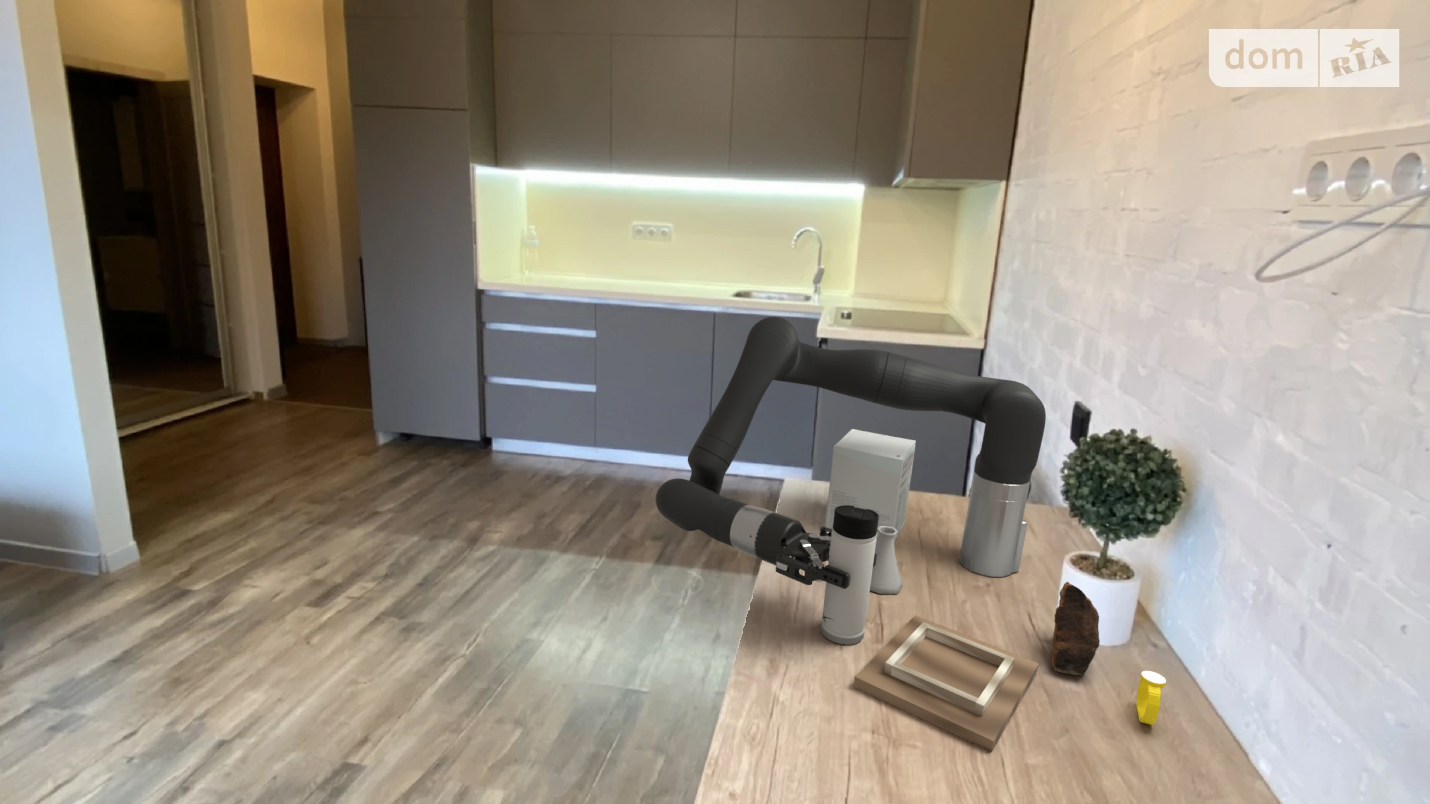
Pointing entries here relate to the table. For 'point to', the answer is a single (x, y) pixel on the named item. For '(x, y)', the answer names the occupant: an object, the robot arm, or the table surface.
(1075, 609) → the decorative rock
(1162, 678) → the watch
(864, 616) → the travel mug
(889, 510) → the supplement box
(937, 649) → the wooden square tray
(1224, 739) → the table surface
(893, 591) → the flask
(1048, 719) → the table surface
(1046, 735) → the table surface
